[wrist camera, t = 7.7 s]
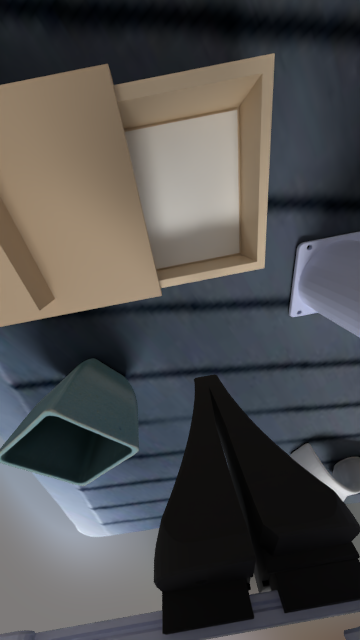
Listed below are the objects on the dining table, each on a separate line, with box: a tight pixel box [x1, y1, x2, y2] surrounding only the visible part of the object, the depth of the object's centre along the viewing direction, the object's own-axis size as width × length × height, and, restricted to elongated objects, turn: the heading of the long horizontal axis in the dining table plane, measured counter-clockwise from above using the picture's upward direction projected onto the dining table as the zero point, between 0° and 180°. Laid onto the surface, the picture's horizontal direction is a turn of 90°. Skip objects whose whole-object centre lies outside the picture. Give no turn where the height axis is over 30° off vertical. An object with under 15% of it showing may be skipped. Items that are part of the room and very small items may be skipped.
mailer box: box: [114, 53, 275, 288], centre depth 14 cm, size 16×11×4 cm
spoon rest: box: [291, 443, 360, 501], centre depth 38 cm, size 24×12×7 cm, turn 59°
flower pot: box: [0, 358, 139, 486], centre depth 20 cm, size 9×9×9 cm
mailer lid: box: [0, 64, 162, 327], centre depth 11 cm, size 16×12×3 cm
